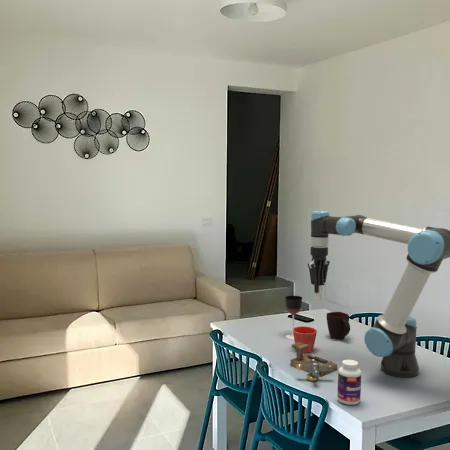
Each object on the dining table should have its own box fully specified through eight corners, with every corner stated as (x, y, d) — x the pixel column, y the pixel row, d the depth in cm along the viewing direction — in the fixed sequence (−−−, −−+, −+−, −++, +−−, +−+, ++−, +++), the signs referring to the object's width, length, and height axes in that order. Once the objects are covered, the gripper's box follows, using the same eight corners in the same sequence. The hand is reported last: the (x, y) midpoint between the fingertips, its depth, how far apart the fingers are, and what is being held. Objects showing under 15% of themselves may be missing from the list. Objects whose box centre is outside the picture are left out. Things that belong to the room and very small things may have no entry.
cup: (339, 334, 259) (340, 311, 258) (356, 342, 246) (357, 318, 245) (323, 336, 255) (323, 313, 254) (339, 345, 242) (339, 320, 241)
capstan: (330, 372, 208) (330, 356, 207) (335, 387, 194) (335, 370, 193) (295, 371, 209) (295, 355, 208) (297, 385, 195) (297, 369, 194)
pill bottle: (346, 407, 177) (347, 368, 176) (332, 398, 185) (333, 360, 183) (365, 403, 181) (366, 364, 179) (351, 394, 188) (352, 357, 187)
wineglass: (304, 337, 253) (305, 298, 251) (291, 340, 249) (292, 300, 246) (294, 333, 260) (294, 294, 258) (281, 336, 255) (281, 297, 253)
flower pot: (316, 355, 229) (316, 334, 228) (291, 353, 231) (292, 332, 230) (316, 347, 239) (317, 327, 238) (293, 345, 241) (293, 325, 240)
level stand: (337, 369, 212) (337, 348, 211) (321, 376, 204) (321, 355, 204) (306, 359, 224) (307, 339, 223) (290, 365, 216) (290, 345, 215)
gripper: (321, 244, 227) (320, 295, 230) (303, 246, 218) (301, 300, 221) (335, 246, 222) (333, 298, 224) (317, 248, 213) (315, 303, 215)
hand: (318, 299), depth 222 cm, fingers closed
